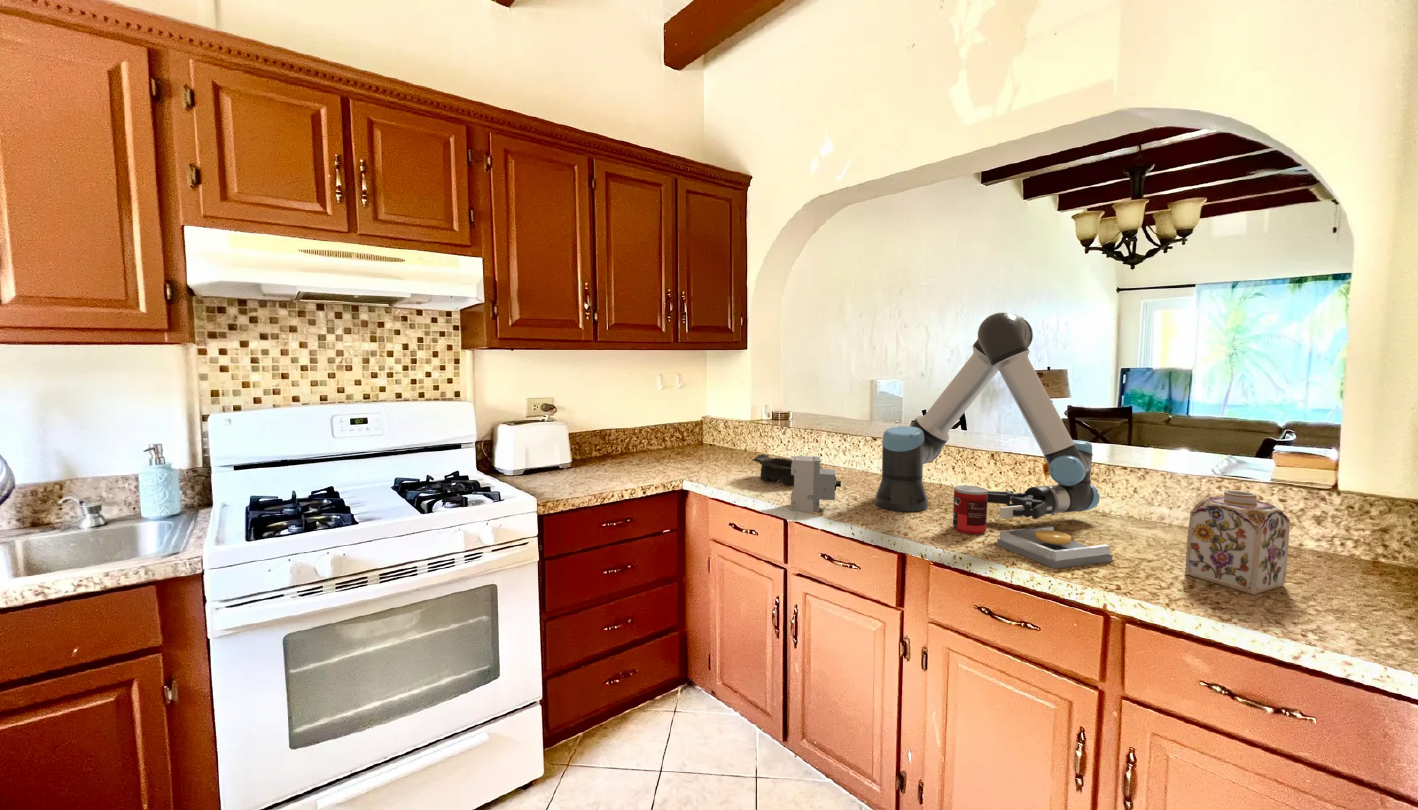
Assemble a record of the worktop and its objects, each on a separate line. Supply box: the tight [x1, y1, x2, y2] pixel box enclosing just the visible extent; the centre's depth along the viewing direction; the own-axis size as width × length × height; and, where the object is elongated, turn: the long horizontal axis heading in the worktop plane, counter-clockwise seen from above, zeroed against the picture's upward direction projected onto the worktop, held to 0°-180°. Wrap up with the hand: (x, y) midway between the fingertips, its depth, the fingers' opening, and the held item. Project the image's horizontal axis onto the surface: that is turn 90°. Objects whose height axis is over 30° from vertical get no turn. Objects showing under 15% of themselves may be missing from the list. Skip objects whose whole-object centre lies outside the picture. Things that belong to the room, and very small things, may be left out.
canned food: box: [952, 484, 988, 536], centre depth 147 cm, size 8×8×11 cm
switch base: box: [996, 525, 1113, 570], centre depth 130 cm, size 16×16×4 cm
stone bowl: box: [751, 454, 823, 487], centre depth 206 cm, size 25×25×9 cm
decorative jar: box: [1184, 490, 1291, 595], centre depth 114 cm, size 12×12×18 cm
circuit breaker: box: [790, 455, 842, 513], centre depth 168 cm, size 8×14×15 cm, turn 78°
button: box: [1035, 530, 1072, 547], centre depth 130 cm, size 7×7×2 cm
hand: (980, 506), depth 147 cm, fingers open, 13 cm apart
